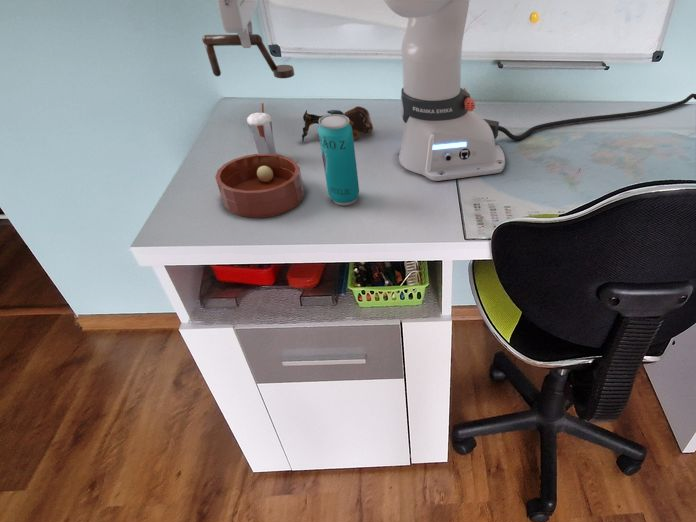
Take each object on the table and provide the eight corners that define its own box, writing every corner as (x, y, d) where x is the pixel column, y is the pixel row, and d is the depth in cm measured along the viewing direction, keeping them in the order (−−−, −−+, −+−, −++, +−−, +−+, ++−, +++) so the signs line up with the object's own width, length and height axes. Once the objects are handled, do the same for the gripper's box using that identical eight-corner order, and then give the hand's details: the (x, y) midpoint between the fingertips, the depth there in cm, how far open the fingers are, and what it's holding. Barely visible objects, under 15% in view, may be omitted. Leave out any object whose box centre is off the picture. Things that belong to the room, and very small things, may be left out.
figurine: (374, 141, 119) (371, 113, 115) (302, 143, 117) (297, 115, 113) (373, 126, 124) (370, 99, 120) (304, 128, 122) (299, 101, 118)
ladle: (295, 71, 120) (287, 30, 114) (293, 78, 117) (285, 37, 111) (215, 72, 118) (203, 31, 112) (211, 80, 115) (198, 38, 109)
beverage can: (330, 191, 104) (318, 113, 93) (361, 191, 104) (352, 113, 93) (328, 207, 100) (314, 127, 89) (359, 207, 100) (349, 127, 89)
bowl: (306, 176, 107) (302, 152, 104) (301, 216, 97) (295, 191, 94) (230, 178, 106) (223, 154, 102) (216, 219, 96) (208, 194, 92)
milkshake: (284, 152, 114) (273, 104, 107) (275, 164, 110) (264, 115, 103) (263, 150, 114) (251, 102, 107) (253, 162, 110) (240, 113, 103)
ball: (275, 177, 105) (272, 162, 103) (273, 184, 103) (270, 170, 101) (259, 177, 105) (256, 163, 103) (257, 185, 103) (254, 170, 101)
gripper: (237, -23, 96) (257, 60, 106) (254, -46, 110) (270, 30, 120) (200, -23, 95) (224, 61, 105) (222, -46, 110) (241, 30, 119)
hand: (248, 44), depth 113 cm, fingers closed on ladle, 2 cm apart
